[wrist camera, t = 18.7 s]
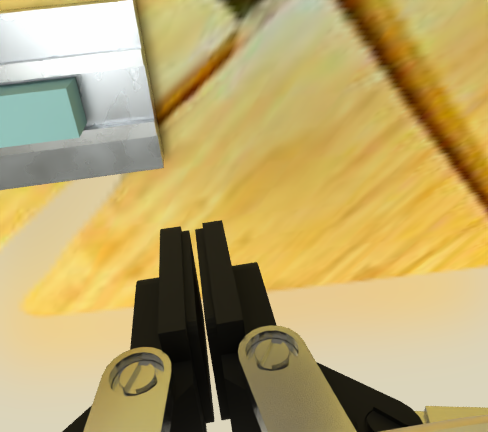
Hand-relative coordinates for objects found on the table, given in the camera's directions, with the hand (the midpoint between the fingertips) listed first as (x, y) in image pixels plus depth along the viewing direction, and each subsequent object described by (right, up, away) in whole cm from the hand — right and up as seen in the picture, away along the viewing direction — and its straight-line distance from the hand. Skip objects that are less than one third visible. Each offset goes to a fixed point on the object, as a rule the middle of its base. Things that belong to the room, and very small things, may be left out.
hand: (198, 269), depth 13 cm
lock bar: (-14, +8, +17) cm, 23 cm away
